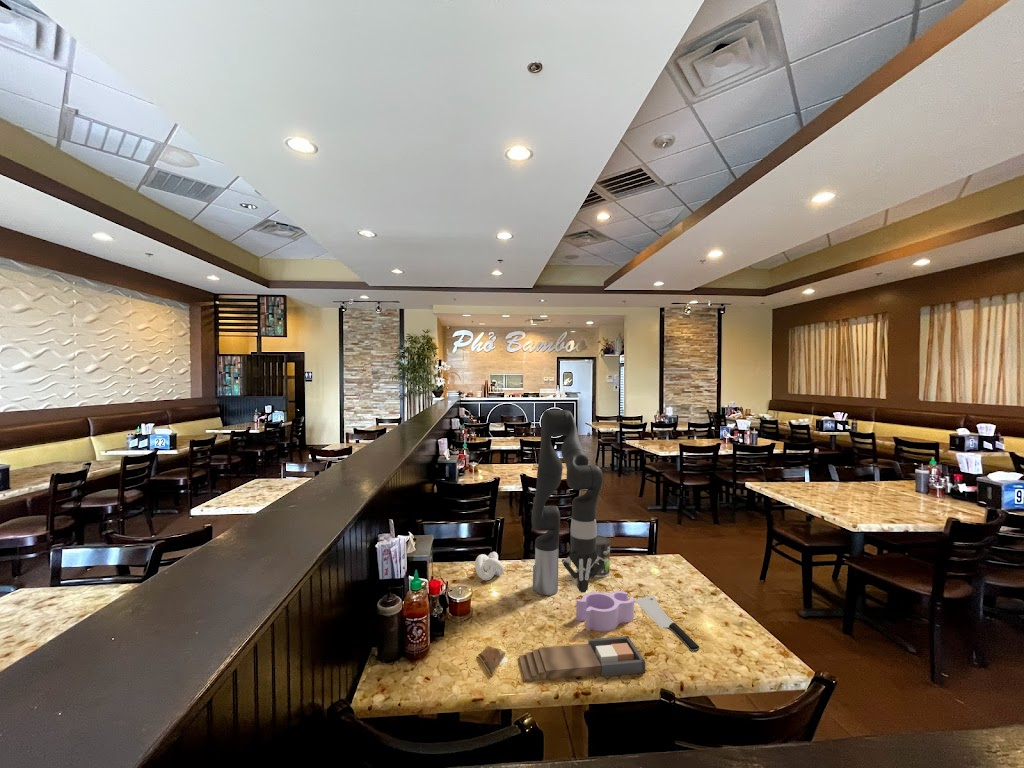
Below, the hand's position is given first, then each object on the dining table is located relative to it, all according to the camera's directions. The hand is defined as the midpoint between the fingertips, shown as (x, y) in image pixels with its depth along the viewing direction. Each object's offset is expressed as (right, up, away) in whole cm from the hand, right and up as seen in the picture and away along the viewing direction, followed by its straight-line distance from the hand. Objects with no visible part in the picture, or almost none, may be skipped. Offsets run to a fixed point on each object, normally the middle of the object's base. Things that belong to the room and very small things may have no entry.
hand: (582, 591), depth 126 cm
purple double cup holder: (+12, -22, +24) cm, 34 cm away
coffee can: (+16, -20, +59) cm, 65 cm away
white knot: (-30, -20, +55) cm, 66 cm away
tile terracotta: (+12, -21, +2) cm, 25 cm away
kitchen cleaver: (+31, -22, +22) cm, 44 cm away
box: (+10, -22, +2) cm, 24 cm away
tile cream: (+7, -21, +1) cm, 23 cm away
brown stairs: (-15, -22, -2) cm, 26 cm away
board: (-4, -22, 0) cm, 22 cm away
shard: (-26, -22, +1) cm, 34 cm away
